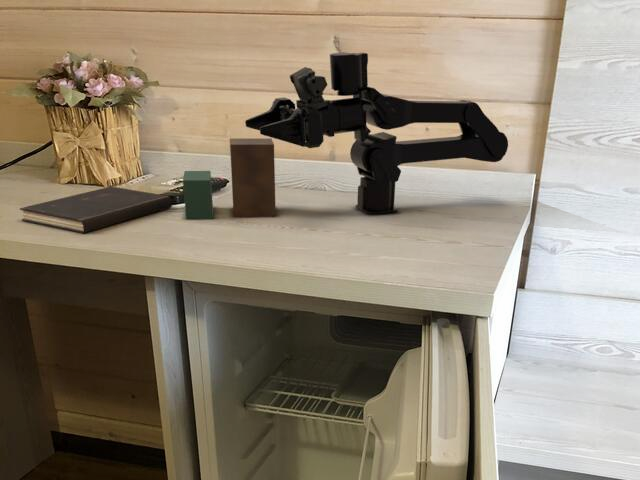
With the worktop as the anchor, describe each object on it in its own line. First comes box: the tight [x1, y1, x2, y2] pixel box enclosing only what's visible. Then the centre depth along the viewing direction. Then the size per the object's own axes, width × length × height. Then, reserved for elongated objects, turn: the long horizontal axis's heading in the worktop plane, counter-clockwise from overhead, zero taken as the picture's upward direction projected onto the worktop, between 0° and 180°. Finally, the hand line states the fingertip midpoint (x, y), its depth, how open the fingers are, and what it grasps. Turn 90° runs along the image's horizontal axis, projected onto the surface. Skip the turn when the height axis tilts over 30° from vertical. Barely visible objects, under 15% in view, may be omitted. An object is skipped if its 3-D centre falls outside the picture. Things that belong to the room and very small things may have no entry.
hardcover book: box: [19, 186, 173, 234], centre depth 140 cm, size 16×23×2 cm
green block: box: [182, 170, 214, 220], centre depth 141 cm, size 5×9×7 cm, turn 8°
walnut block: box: [229, 137, 277, 218], centre depth 141 cm, size 8×7×13 cm
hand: (252, 127), depth 131 cm, fingers open, 9 cm apart
